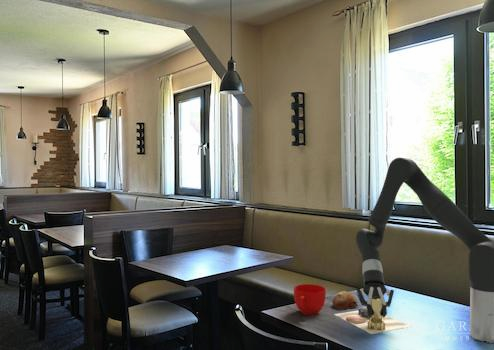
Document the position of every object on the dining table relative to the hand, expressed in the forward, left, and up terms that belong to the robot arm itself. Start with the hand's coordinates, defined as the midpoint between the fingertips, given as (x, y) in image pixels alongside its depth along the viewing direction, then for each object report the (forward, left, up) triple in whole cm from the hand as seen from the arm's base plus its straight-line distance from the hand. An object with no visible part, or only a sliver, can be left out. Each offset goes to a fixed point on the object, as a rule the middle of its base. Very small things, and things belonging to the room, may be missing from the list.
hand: (377, 315), depth 156 cm
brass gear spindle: (+2, -1, -5) cm, 5 cm away
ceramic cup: (+27, +12, -6) cm, 30 cm away
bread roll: (+30, -8, -7) cm, 32 cm away
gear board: (+8, -4, -6) cm, 11 cm away
